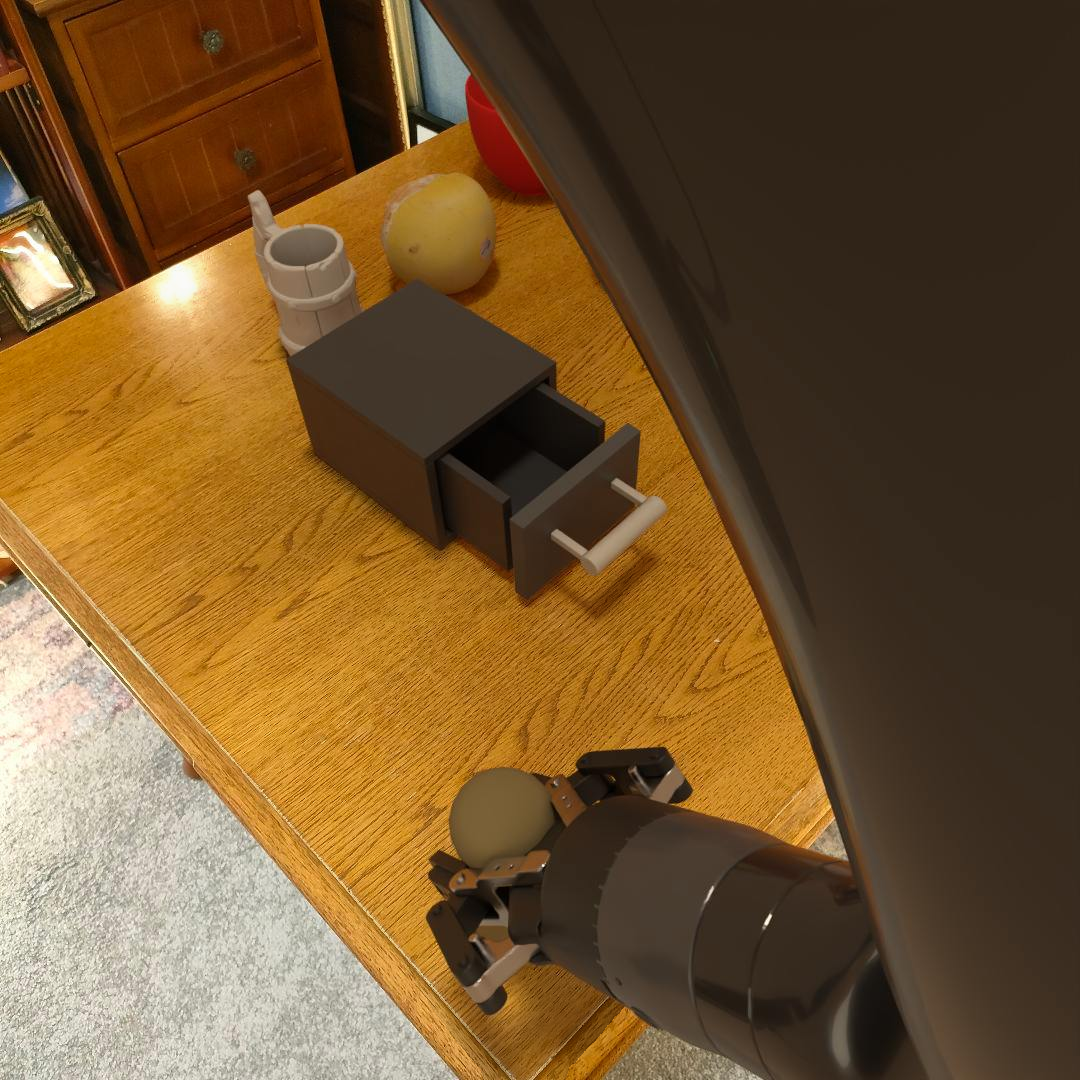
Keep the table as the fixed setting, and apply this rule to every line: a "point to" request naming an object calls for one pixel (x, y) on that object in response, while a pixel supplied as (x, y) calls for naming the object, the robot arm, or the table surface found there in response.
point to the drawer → (545, 489)
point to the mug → (304, 276)
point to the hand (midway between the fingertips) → (482, 830)
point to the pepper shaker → (499, 821)
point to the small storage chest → (409, 395)
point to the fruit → (440, 232)
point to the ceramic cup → (499, 144)
